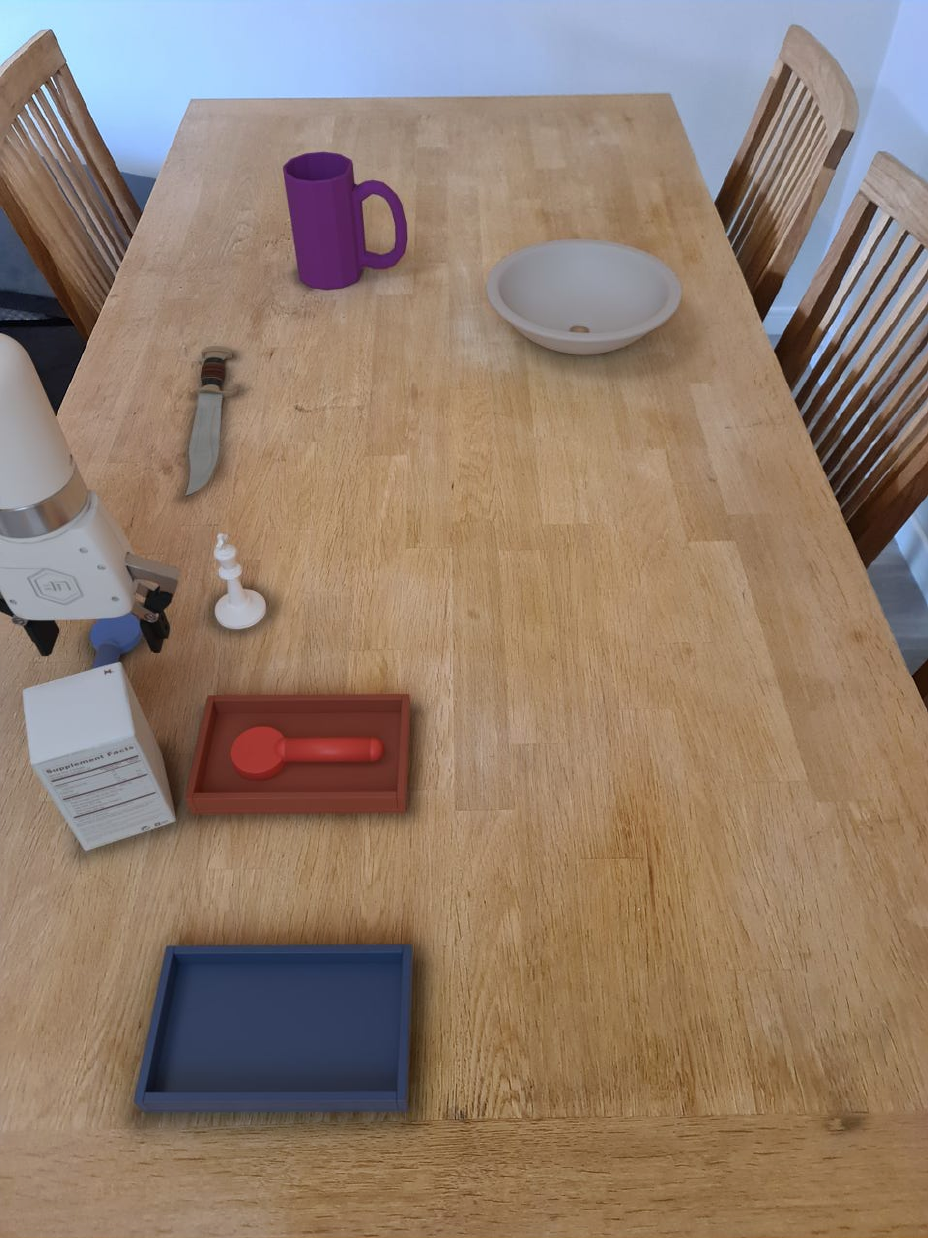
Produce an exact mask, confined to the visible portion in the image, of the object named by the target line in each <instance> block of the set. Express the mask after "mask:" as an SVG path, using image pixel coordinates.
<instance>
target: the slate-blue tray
mask: <svg viewBox="0 0 928 1238" xmlns="http://www.w3.org/2000/svg"><path fill="white" fill-rule="evenodd" d="M413 982H414V951H413V944H411V943H410V944H408V943H405V944H403V943H402V944H399V943H397V944H396V943H395V944H392V943H387V944H385V943H384V944H381V943H380V944H375V943H374V944H223V945H222V944H221V945H220V944H218V945H217V944H211V945H208V944H207V945H206V944H204V945H199V944H198V945H192V944H191V945H188V944H187V945H186V944H185V945H172V944H171V945H167V944H166V947H165V951H164V956H163V961H162V965H161V969H160V975H159V979H158V984H157V987H156V988H157V989H156V993H155V999H154V1003H153V1008H152V1012H151V1017H150V1022H149V1026H148V1031H147V1037H146V1041H145V1046H144V1051H143V1055H142V1060H141V1064H140V1069H139V1074H138V1078H137V1079H138V1080H137V1083H136V1088H135V1093H134V1097H133V1103H134V1104H135V1105H136V1107H138V1109H139V1110H140V1111H141V1112H142V1113H144V1114H146V1113H147V1114H151V1113H153V1114H160V1113H161V1114H162V1113H163V1114H164V1113H166V1114H167V1113H171V1114H172V1113H173V1114H174V1113H175V1114H176V1113H177V1114H178V1113H179V1114H180V1113H182V1114H183V1113H185V1114H187V1113H188V1114H189V1113H191V1114H192V1113H194V1114H195V1113H196V1114H197V1113H198V1114H199V1113H202V1114H203V1113H385V1112H386V1113H398V1112H399V1113H407V1112H409V1100H410V1099H409V1096H410V1072H411V1071H410V1070H411V1069H410V1067H411V1042H412V1040H411V1039H412V1014H413V1013H412V1011H413V984H414V983H413Z"/></svg>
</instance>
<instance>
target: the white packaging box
mask: <svg viewBox="0 0 928 1238" xmlns="http://www.w3.org/2000/svg"><path fill="white" fill-rule="evenodd" d="M22 702H23V711H24V721H25V730H26V731H25V732H26V739H27V747H28V755H29V760H30V761H29V762H30V766H31V768H32V770H33V771H34V772H35V774H36V775H37V777H38V778H39V780H40V783H42V786H43V787H44V788H45V790H46V791H47V793H48V795H49V797H50V798H51V800H52V802H53V803H54V805H55V806H56V808H57V809H58V811H59V813H60V814H61V816H62V817H63V819H64V820H65V822H66V824H67V825H68V827H69V828H70V830H71V831H72V833H73V834H74V836H75V838H76V840H77V841H78V842H79V844H80V845H81V847H82V848H83V850H84V851H85V852H87V851H90V850H93V849H96V848H100V847H102V846H105V845H108V844H111V843H115V842H118V841H120V840H124V839H126V838H129V837H132V836H133V837H134V836H135V835H138V834H142V833H144V832H148V831H151V830H154V829H157V828H160V827H163V826H166V825H169V824H173V823H175V822H176V821H177V817H176V811H175V806H174V800H173V796H172V792H171V787H170V782H169V779H168V774H167V770H166V765H165V761H164V757H163V753H162V750H161V749H160V746H159V745H158V742H157V739H156V738H155V736H154V733H153V730H152V729H151V726H150V724H149V722H148V719H147V717H146V715H145V713H144V711H143V709H142V706H141V704H140V701H139V700H138V697H137V695H136V693H135V691H134V688H133V686H132V684H131V681H130V679H129V677H128V675H127V672H126V670H125V668H124V666H123V663H122V662H121V661H118V662H117V663H113V664H109V665H105V666H102V667H98V668H95V669H91V668H90V669H88V670H85V671H81V672H77V673H74V674H71V675H67V676H64V677H60V678H57V679H53V680H50V681H46V682H43V683H39V684H35V685H31V686H29V687H27V688H24V689H22Z"/></svg>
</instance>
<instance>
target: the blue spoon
mask: <svg viewBox="0 0 928 1238" xmlns="http://www.w3.org/2000/svg"><path fill="white" fill-rule="evenodd" d="M143 636H144V635H143V632H142V630H141V628H140V619H139V617H138V616H136V615H135V614H133V613H131V612H130V613H128V614H127V615H124V616H121V617H116V618H103V619H97V620H96V621H95V623H93V625H92V626H91V628H90V631H89V641H90V642H91V645H92V647H93V649H94V650H95V651H96V653H95V656H94V659H93V662H92V666H91V668H90V670H91V669H95V668H98V667H102V666H105V665H109V664H113V663H117V662H120V661H119V660H120V657H121V655H124V654H126V653H128V652H130V651H132V650H134V649H135V648H136V647H137V646H138V645H139V644H140V643H141V641H142V640H143V639H142V638H143Z"/></svg>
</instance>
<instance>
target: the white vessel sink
mask: <svg viewBox="0 0 928 1238" xmlns="http://www.w3.org/2000/svg"><path fill="white" fill-rule="evenodd" d="M485 293H486V296H487V300H488V301H489V303H490V306H491V307H492V308H493V310H494V311H496V313H497V314H498V315H499V316H500V317H502V318H503V319H504V320H506V321H507V322H508V323H510V324H511V325H512V326H513V327H514V328H515V329H516V331H518V332H519V333H520V334H522V336H524V337H525V338H527V339H528V340H530V341H531V342H533V343H535V344H537V345H539V346H540V347H542V348H546V349H548V350H551V351H555V352H558V353H564V354H570V355H581V356H586V355H599V354H604V353H609V352H613V351H617V350H620V349H622V348H625V347H627V346H629V345H632V344H634V342H636V341H638V340H639V339H641V338H643V337H644V336H645V335H647V334H648V333H649V332H650V331H652V330H655V329H656V328H658V327H660V326H661V325H663V324H665V322H667V321H668V320H669V319H670V318H672V317H673V315H674V314H675V313H676V311H677V310H678V308H679V307H680V304H681V302H682V297H683V288H682V283H681V281H680V279H679V277H678V275H677V274H676V273H675V271H674V270H673V269H672V268H671V267H670V266H669V265H668V264H667V263H666V262H665V261H663V260H661V259H660V258H658V257H657V256H655V255H654V254H651V253H649V252H648V251H645V250H642V249H640V248H638V247H635V246H631V245H628V244H625V243H620V242H616V241H610V240H604V239H596V238H563V239H562V238H560V239H553V240H547V241H542V242H538V243H533V244H530V245H526V246H523V247H522V248H519V249H516V250H515V251H512V252H511V253H509V254H507V255H506V256H504V257H503V258H501V259H500V260H499V261H498V262H497V263H496V264H495V265H494V266H493V267H492V268H491V270H490V271H489V273H488V275H487V278H486V282H485ZM574 327H585V328H586V329H588V332H581V331H580V332H579V331H571V329H572V328H574Z"/></svg>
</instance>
